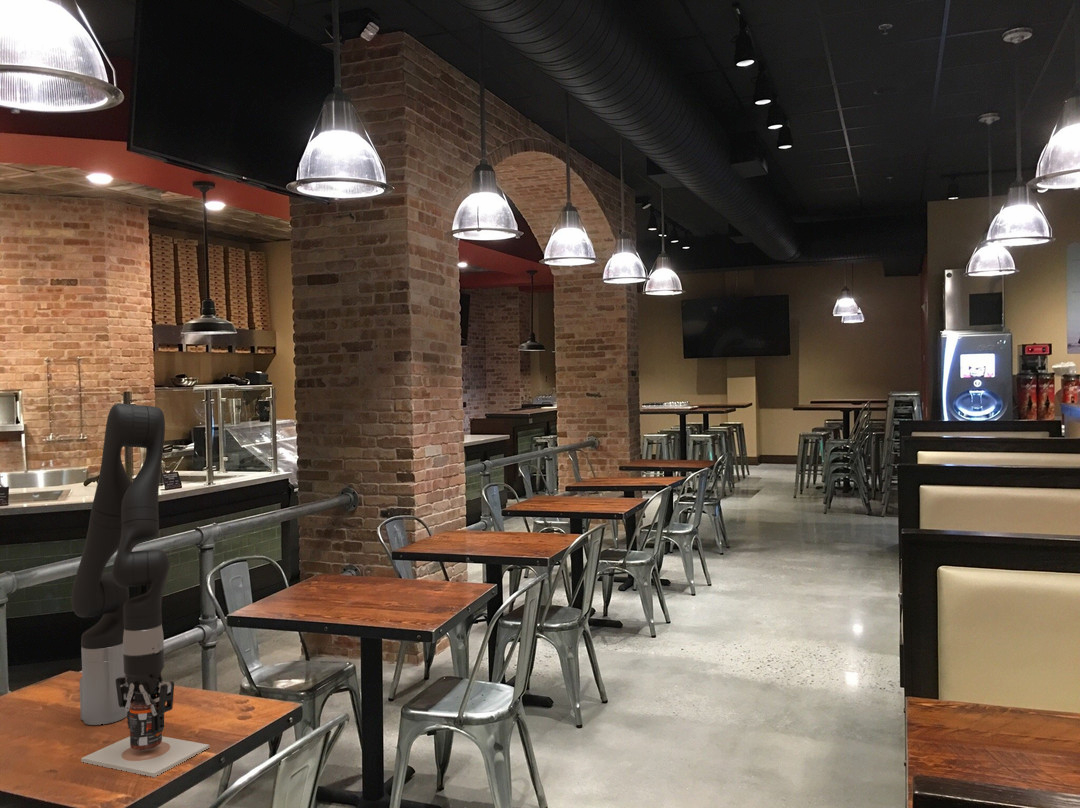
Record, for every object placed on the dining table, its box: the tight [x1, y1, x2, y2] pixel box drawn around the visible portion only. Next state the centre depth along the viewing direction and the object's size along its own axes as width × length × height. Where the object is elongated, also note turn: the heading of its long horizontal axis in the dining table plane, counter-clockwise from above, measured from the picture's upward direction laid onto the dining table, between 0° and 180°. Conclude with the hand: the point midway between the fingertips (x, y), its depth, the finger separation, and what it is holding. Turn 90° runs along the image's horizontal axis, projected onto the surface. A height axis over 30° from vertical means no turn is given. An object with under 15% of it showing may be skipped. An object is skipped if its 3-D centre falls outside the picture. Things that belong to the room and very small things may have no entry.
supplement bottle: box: [129, 691, 163, 750], centre depth 171 cm, size 6×6×11 cm
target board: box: [80, 735, 211, 778], centre depth 171 cm, size 20×14×1 cm
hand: (146, 729), depth 171 cm, fingers closed on supplement bottle, 6 cm apart
